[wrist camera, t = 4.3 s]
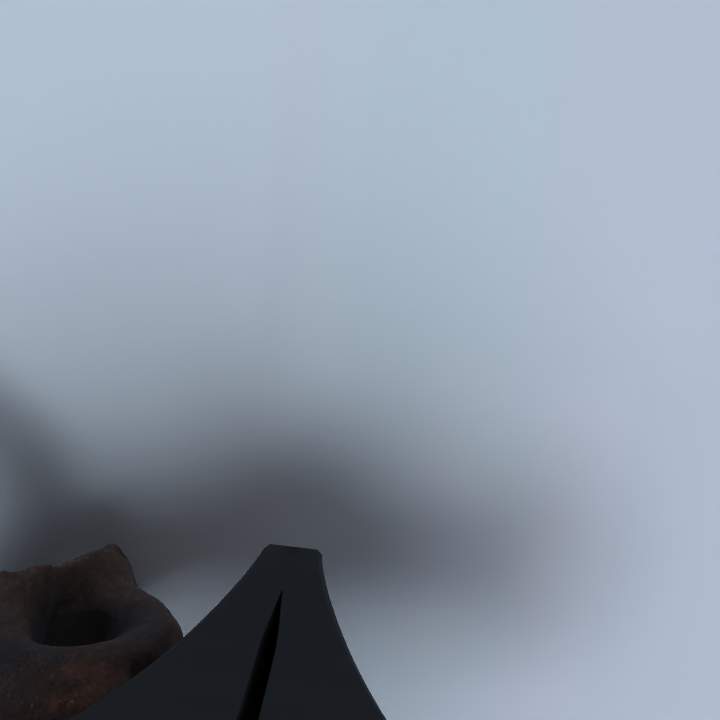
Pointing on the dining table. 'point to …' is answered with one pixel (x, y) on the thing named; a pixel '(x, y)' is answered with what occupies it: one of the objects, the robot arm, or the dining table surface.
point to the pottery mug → (76, 635)
